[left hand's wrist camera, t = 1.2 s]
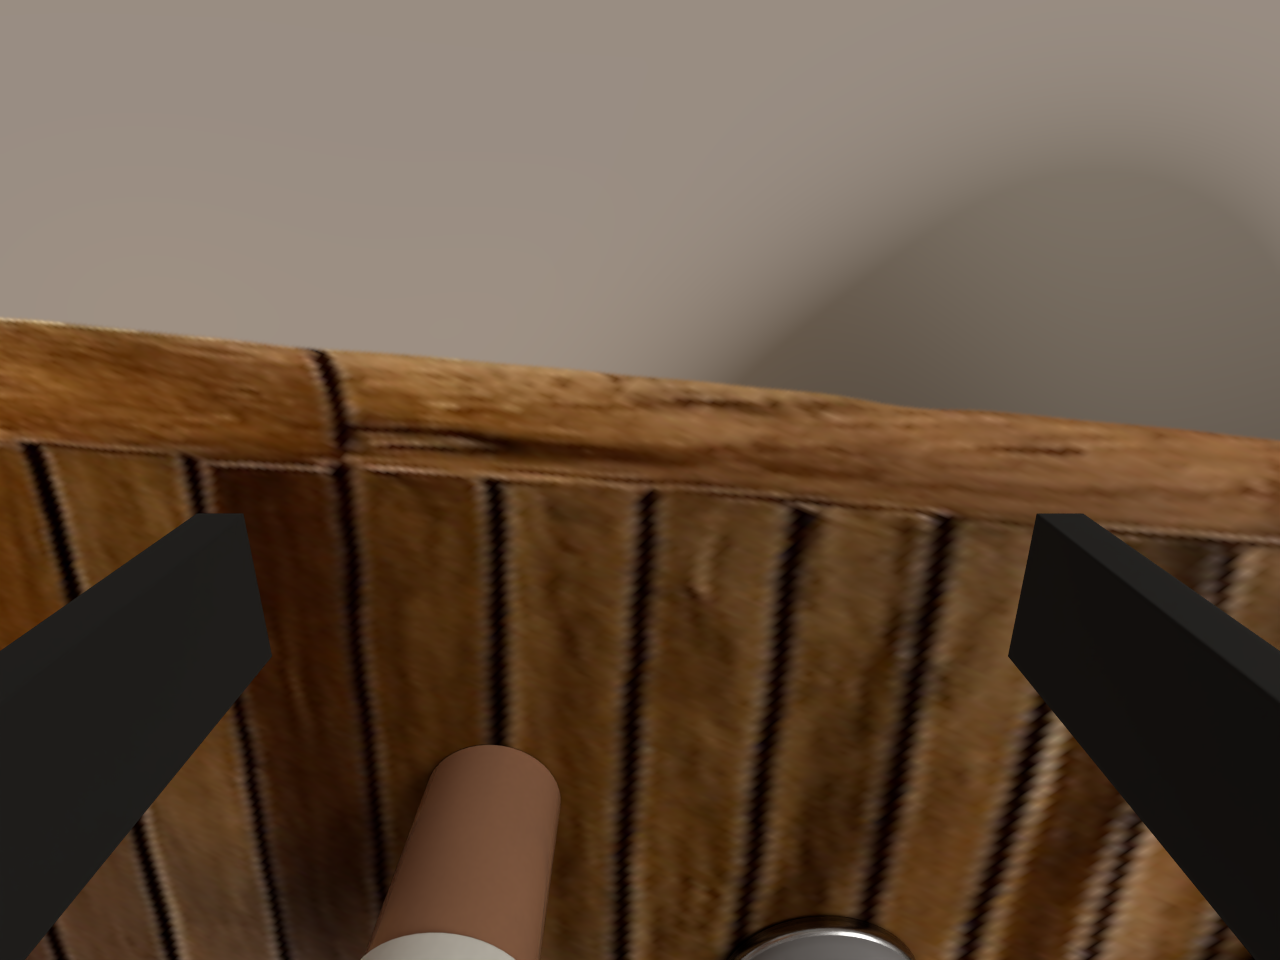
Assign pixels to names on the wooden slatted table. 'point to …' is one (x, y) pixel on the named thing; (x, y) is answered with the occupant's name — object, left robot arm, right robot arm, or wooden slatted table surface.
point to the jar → (478, 854)
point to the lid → (436, 948)
